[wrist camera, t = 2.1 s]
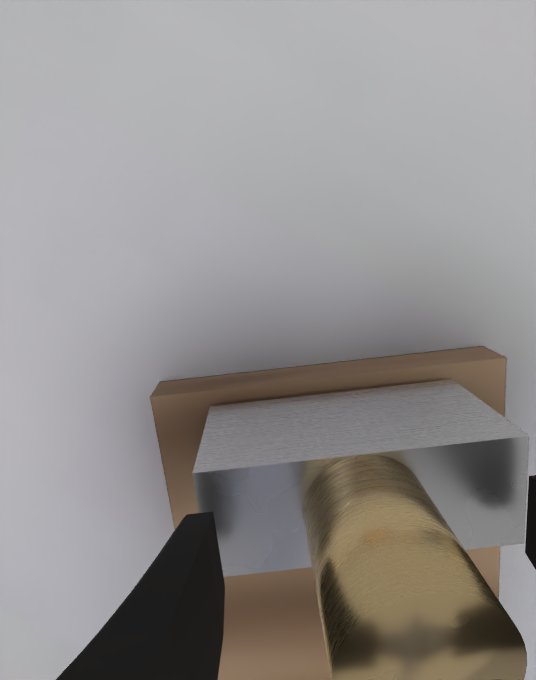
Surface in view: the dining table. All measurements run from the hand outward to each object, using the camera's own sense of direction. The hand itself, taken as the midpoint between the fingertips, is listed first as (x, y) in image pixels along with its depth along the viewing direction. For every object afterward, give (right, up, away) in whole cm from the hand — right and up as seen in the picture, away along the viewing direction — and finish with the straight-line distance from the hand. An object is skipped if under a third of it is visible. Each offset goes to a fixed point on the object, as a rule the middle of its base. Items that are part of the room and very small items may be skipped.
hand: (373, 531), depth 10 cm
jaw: (0, +1, +5) cm, 5 cm away
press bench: (+1, -6, +8) cm, 11 cm away
